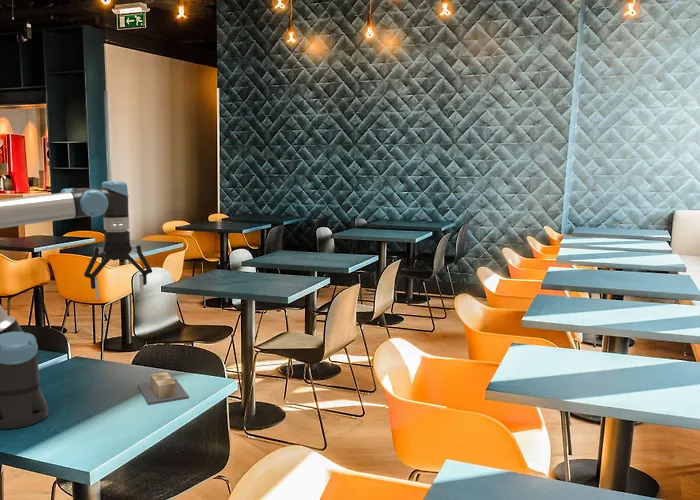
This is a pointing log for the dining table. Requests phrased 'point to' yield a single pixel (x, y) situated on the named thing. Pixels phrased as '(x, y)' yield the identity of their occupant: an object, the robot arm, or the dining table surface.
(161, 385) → the maple block
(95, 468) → the dining table surface
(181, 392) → the rubber mat
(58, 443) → the dining table surface
